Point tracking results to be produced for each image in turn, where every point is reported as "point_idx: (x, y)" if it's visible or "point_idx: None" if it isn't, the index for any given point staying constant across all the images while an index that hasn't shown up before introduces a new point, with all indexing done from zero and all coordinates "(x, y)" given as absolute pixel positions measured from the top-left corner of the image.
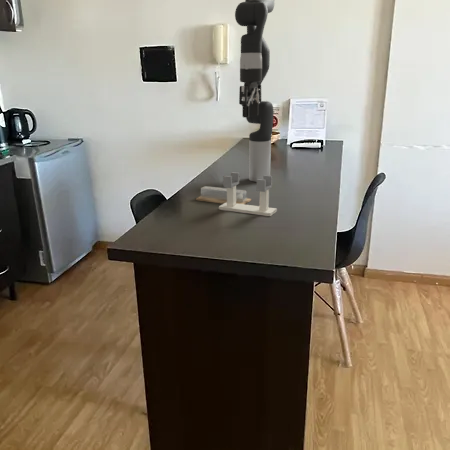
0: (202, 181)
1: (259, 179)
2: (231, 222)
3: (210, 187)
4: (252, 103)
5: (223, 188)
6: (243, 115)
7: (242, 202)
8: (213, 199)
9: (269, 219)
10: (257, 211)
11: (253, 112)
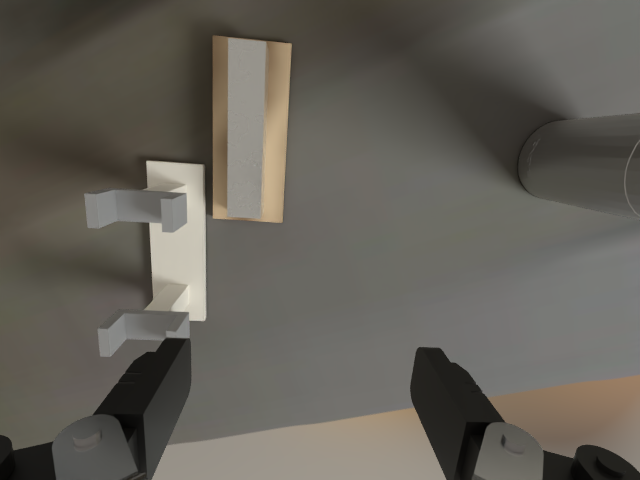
0: None
1: (103, 336)
2: (64, 237)
3: (253, 73)
4: (484, 431)
5: (258, 129)
6: (146, 358)
7: None
8: (226, 105)
9: None
10: (154, 283)
11: (423, 371)
